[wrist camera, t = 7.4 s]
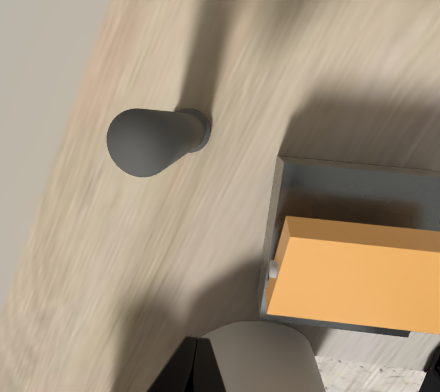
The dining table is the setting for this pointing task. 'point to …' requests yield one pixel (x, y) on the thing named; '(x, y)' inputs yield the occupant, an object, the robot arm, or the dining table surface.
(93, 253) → the dining table surface
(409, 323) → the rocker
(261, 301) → the block
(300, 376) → the lumpy-topped squat cylinder
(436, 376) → the robot arm
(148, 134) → the post
